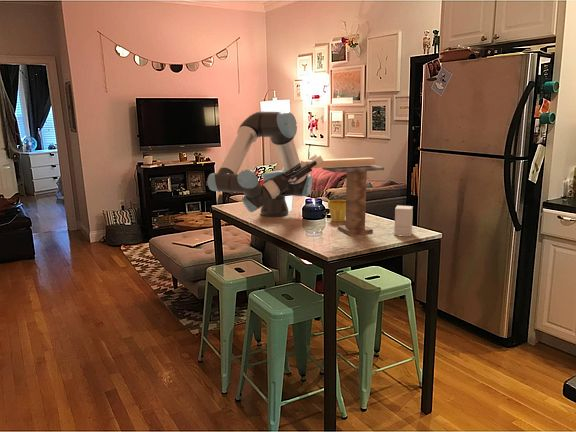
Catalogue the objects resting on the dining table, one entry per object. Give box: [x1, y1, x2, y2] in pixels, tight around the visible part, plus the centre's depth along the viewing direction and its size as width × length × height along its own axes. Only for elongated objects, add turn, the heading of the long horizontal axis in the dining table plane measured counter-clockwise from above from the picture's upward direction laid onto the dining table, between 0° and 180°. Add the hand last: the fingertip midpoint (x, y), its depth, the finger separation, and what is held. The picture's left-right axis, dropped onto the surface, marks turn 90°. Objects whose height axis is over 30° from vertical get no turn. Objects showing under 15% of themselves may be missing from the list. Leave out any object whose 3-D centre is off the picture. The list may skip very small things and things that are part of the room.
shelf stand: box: [321, 164, 385, 236], centre depth 221 cm, size 24×14×30 cm, turn 109°
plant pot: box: [327, 199, 346, 223], centre depth 245 cm, size 10×10×10 cm
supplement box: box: [393, 204, 414, 237], centre depth 217 cm, size 7×7×13 cm
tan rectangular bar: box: [300, 157, 376, 169], centre depth 214 cm, size 34×5×3 cm, turn 109°
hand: (319, 157), depth 211 cm, fingers closed on tan rectangular bar, 4 cm apart
